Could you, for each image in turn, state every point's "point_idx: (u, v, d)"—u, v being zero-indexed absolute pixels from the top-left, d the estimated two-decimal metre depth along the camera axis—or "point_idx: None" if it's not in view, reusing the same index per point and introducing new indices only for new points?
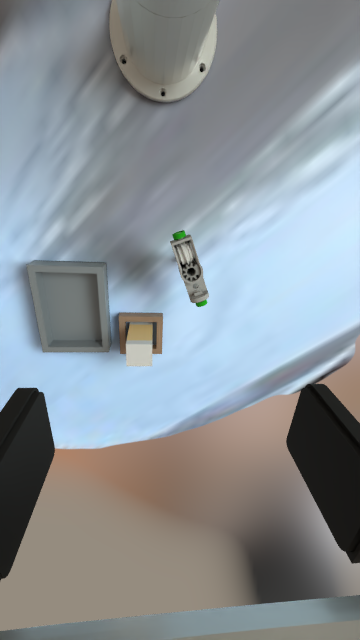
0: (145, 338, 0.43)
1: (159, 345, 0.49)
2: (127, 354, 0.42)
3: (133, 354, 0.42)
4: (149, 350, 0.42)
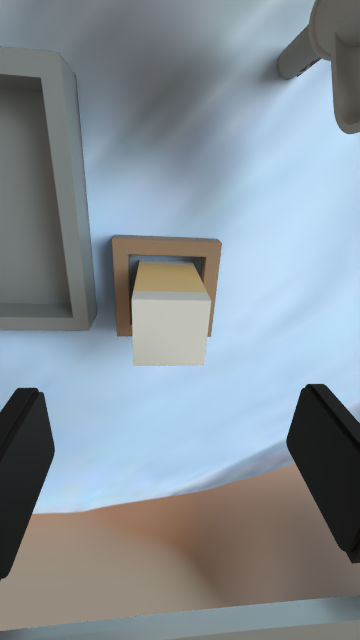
0: (186, 287, 0.15)
1: None
2: (136, 331, 0.14)
3: (153, 331, 0.14)
4: (200, 319, 0.14)
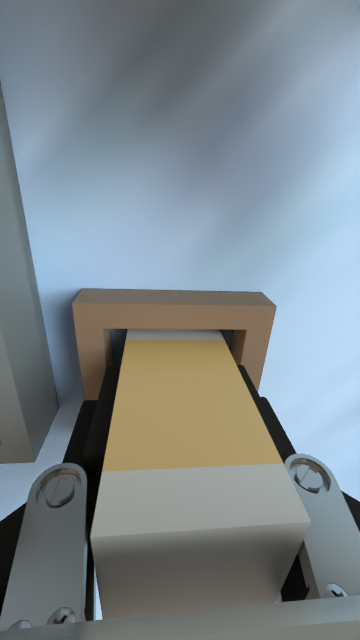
0: (229, 438, 0.07)
1: None
2: (107, 587, 0.05)
3: (154, 583, 0.06)
4: (275, 554, 0.05)
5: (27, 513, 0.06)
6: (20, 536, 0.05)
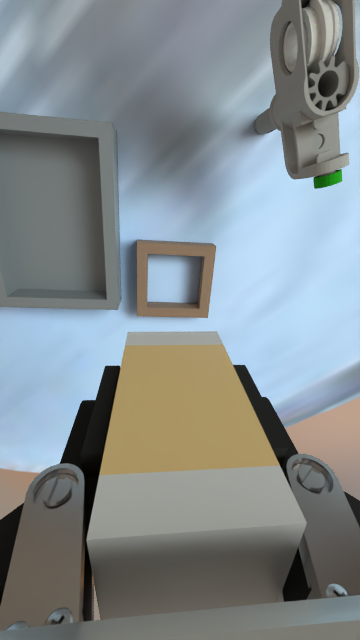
0: (226, 441, 0.07)
1: (205, 302, 0.28)
2: (105, 592, 0.05)
3: (151, 587, 0.06)
4: (273, 557, 0.05)
5: (24, 514, 0.06)
6: (17, 537, 0.05)
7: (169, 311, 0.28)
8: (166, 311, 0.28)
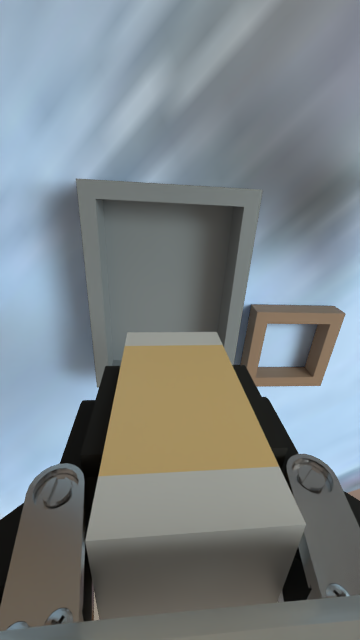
0: (226, 442, 0.07)
1: (320, 370, 0.25)
2: (104, 593, 0.05)
3: (150, 588, 0.06)
4: (272, 559, 0.05)
5: (24, 514, 0.06)
6: (17, 537, 0.05)
7: (279, 380, 0.25)
8: (276, 380, 0.25)
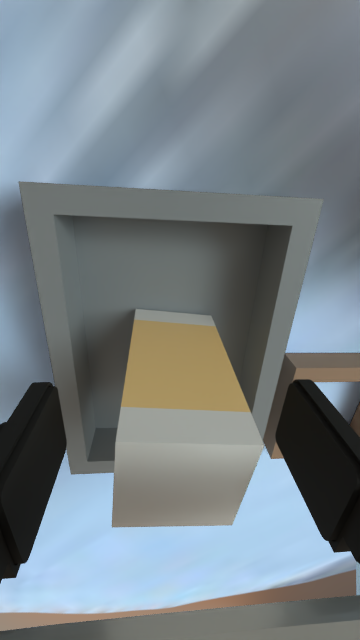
0: (213, 394, 0.09)
1: None
2: (120, 485, 0.08)
3: (152, 485, 0.08)
4: (239, 470, 0.08)
5: None
6: None
7: None
8: None
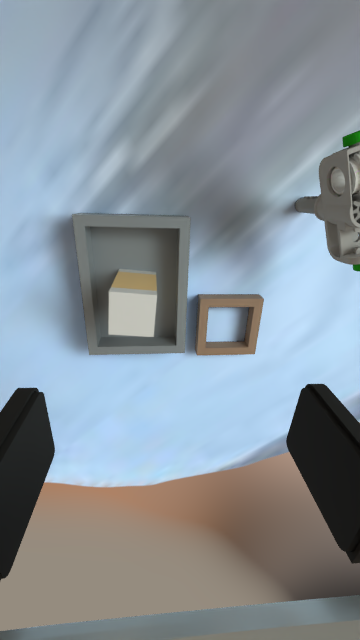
0: (145, 287, 0.25)
1: (253, 341, 0.34)
2: (110, 311, 0.23)
3: (121, 312, 0.23)
4: (150, 306, 0.23)
5: None
6: None
7: (223, 350, 0.34)
8: (221, 350, 0.34)
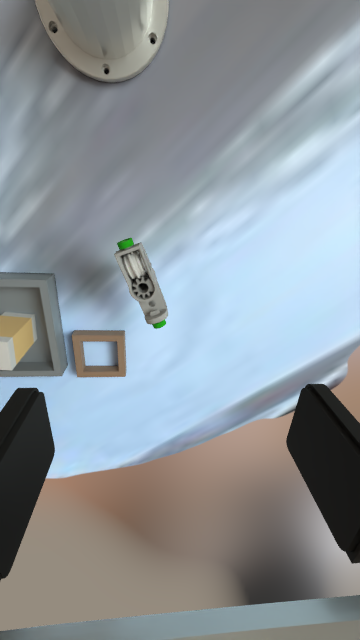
0: (6, 333, 0.33)
1: (122, 367, 0.43)
2: None
3: None
4: (4, 349, 0.32)
5: None
6: None
7: (98, 373, 0.43)
8: (96, 373, 0.43)
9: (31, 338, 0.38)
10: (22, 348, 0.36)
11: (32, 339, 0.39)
